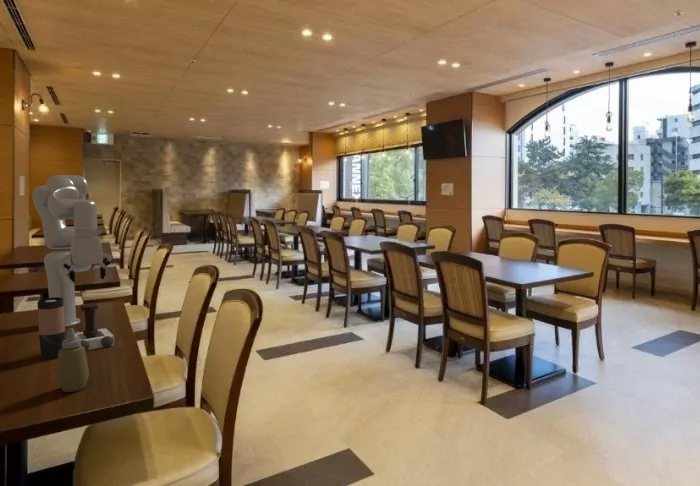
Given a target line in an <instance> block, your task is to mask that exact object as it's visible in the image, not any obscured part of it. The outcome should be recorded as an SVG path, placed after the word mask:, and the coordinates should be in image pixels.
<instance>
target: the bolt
mask: <svg viewBox="0 0 700 486" xmlns="http://www.w3.org/2000/svg"><path fill="white" fill-rule="evenodd" d="M80 310H81V311H82V312H83V313H84V323H85V325H84V326H85V329H84V330H83V331H82V332H83V335H84V336H86V339H89V338H95V336H96V335H97V334H98V330H97V329H96V318H95V313H96V310H99V305H98V304H97V303H88V304H86V303H85V304H82V305H81V306H80Z"/></svg>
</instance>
